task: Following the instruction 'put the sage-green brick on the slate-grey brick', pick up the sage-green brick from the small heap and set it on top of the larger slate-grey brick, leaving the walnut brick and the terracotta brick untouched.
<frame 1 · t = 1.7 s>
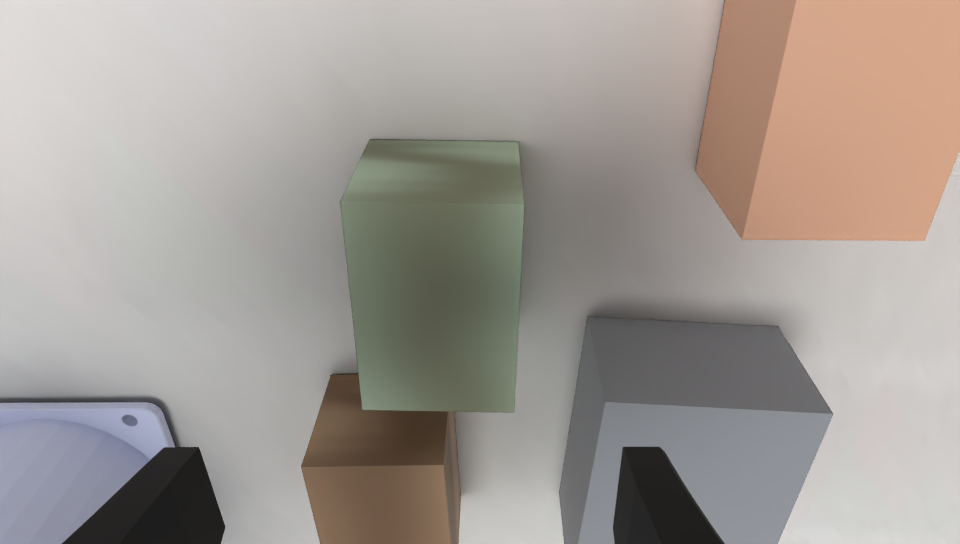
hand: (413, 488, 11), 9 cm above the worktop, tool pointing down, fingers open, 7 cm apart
terracotta brick: (795, 58, 17), on the worktop
slate brick: (658, 415, 23), on the worktop
sage brick: (445, 239, 19), on the worktop
walnut brick: (399, 439, 23), on the worktop
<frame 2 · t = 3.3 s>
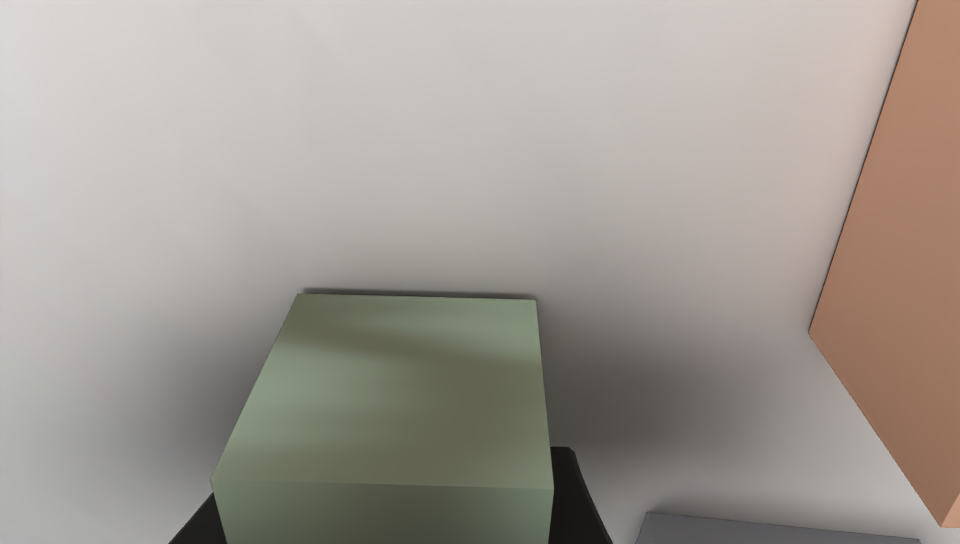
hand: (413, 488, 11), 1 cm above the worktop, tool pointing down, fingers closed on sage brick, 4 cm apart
sage brick: (421, 428, 13), on the worktop, touching gripper
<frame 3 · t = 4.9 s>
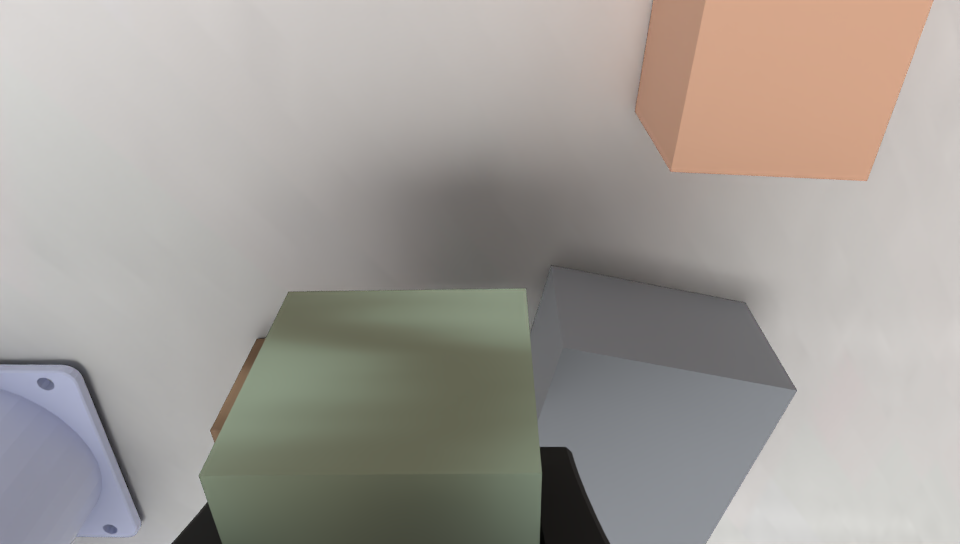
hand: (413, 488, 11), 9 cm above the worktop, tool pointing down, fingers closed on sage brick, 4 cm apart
slate brick: (608, 385, 22), on the worktop
sage brick: (419, 422, 13), point 7 cm above the worktop, touching gripper
walnut brick: (336, 408, 22), on the worktop
when the fingers open (7 cm above the worktop, at t = 6.5 s): sage brick drops 2 cm, resting on slate brick.
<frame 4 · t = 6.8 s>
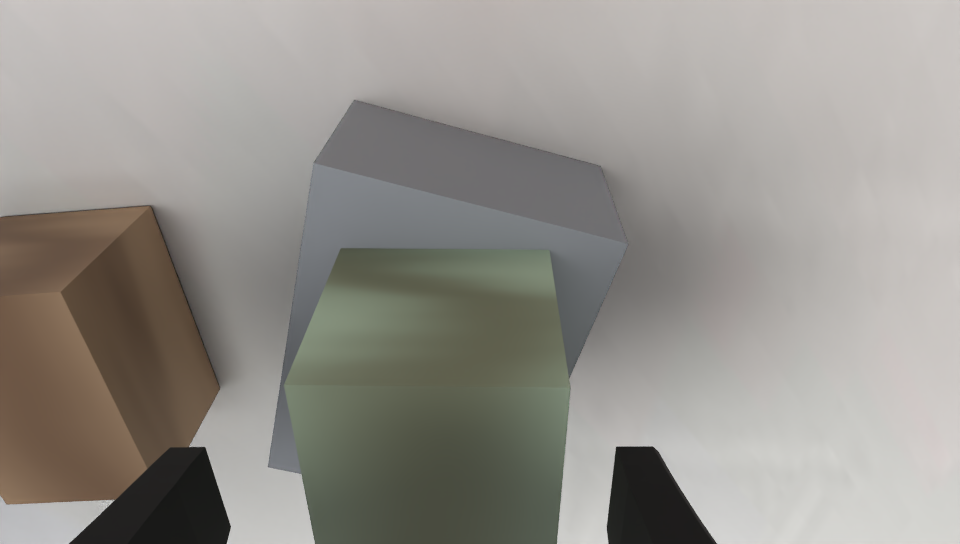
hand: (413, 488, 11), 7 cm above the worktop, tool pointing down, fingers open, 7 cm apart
slate brick: (440, 272, 18), on the worktop, touching sage brick
sage brick: (448, 371, 14), point 4 cm above the worktop, touching slate brick
walnut brick: (118, 309, 18), on the worktop
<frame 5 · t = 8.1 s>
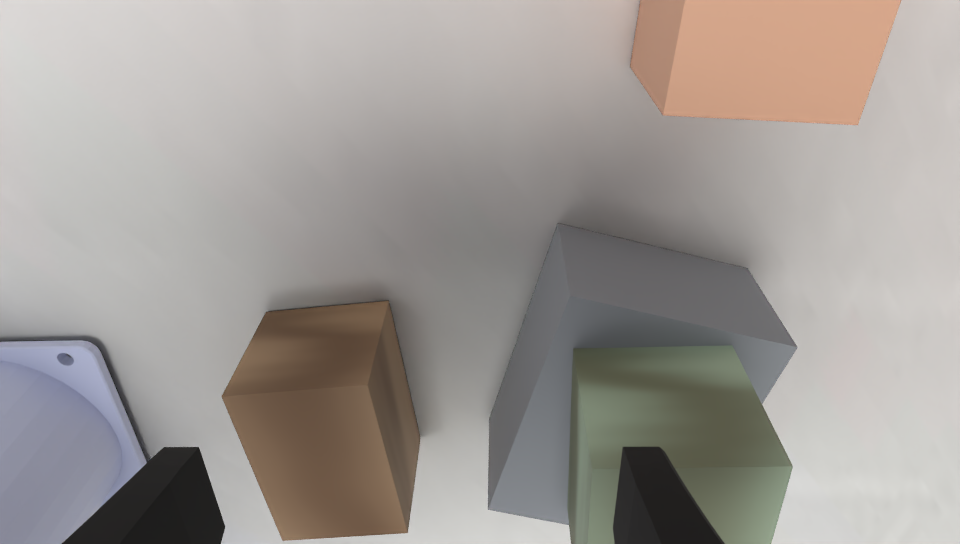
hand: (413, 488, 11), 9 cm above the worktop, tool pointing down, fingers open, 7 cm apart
slate brick: (607, 347, 22), on the worktop, touching sage brick
sage brick: (642, 433, 18), point 4 cm above the worktop, touching slate brick
walnut brick: (347, 379, 23), on the worktop
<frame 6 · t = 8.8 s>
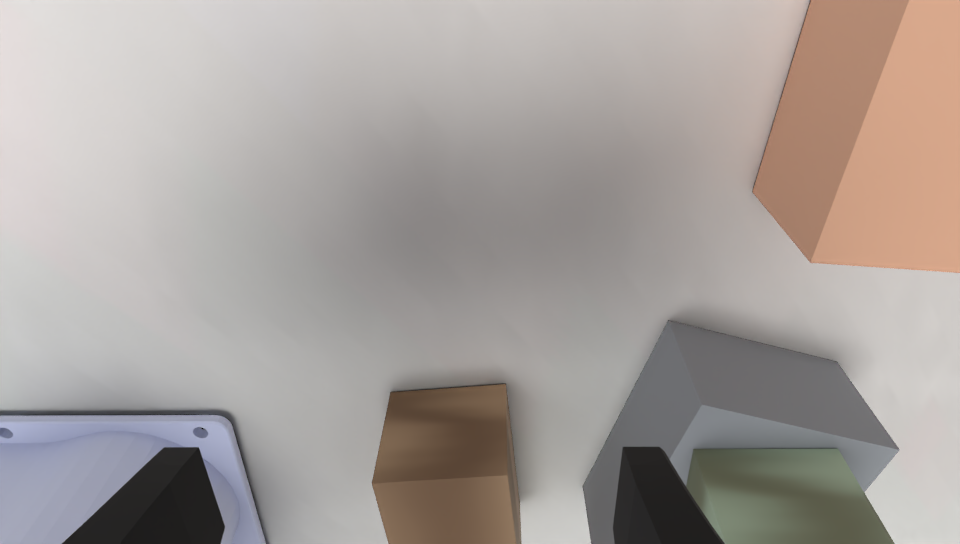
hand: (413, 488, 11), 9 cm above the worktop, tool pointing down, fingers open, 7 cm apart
terracotta brick: (860, 92, 17), on the worktop
slate brick: (700, 427, 24), on the worktop
sage brick: (746, 520, 20), point 4 cm above the worktop
walnut brick: (458, 450, 24), on the worktop
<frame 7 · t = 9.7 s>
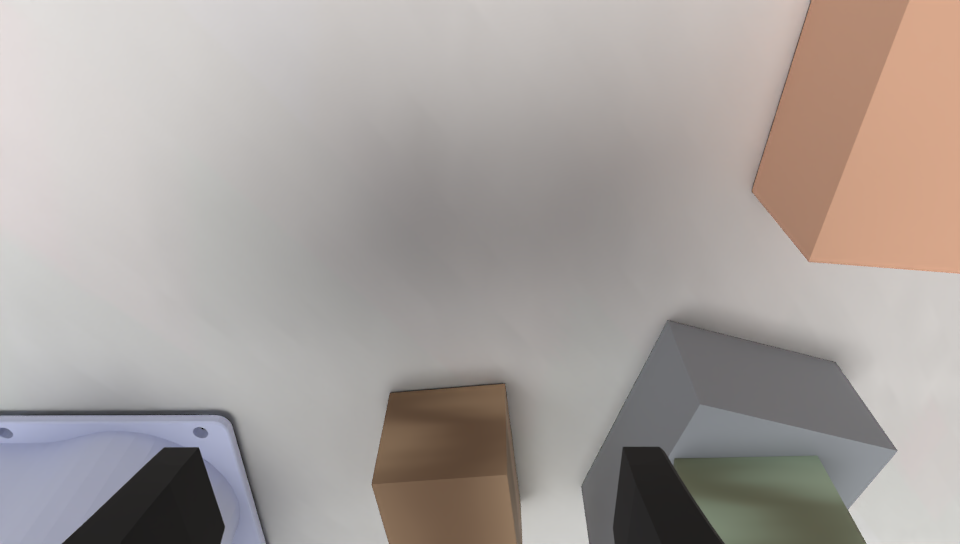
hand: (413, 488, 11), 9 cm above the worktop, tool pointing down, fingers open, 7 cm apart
terracotta brick: (860, 92, 17), on the worktop
slate brick: (699, 427, 24), on the worktop, touching sage brick
sage brick: (730, 526, 20), point 4 cm above the worktop, touching slate brick
walnut brick: (458, 450, 24), on the worktop
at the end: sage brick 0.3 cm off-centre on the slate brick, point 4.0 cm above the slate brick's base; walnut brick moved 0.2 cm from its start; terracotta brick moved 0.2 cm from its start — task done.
